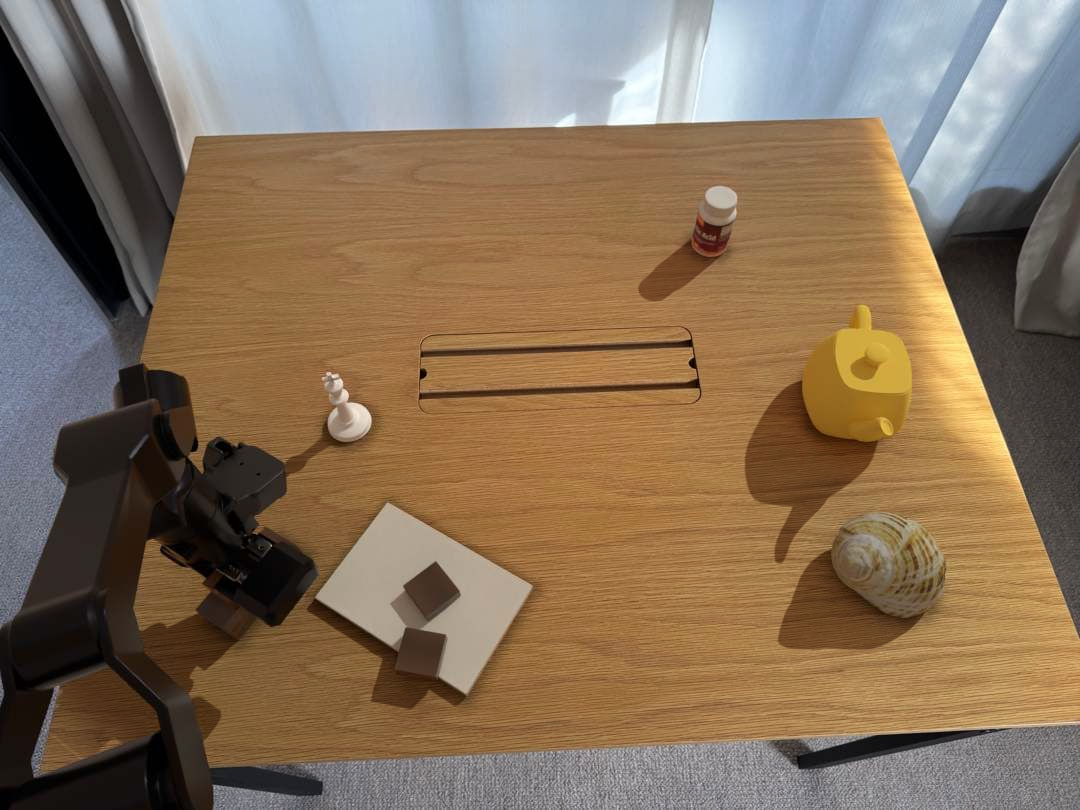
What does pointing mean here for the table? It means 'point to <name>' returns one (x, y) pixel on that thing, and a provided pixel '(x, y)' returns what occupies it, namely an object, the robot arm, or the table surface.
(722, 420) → the table surface
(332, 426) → the chess piece
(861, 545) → the seashell
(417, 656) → the chip
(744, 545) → the table surface
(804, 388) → the teapot
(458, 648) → the tile
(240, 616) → the brown stepped block
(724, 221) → the pill bottle
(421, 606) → the chip
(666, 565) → the table surface
